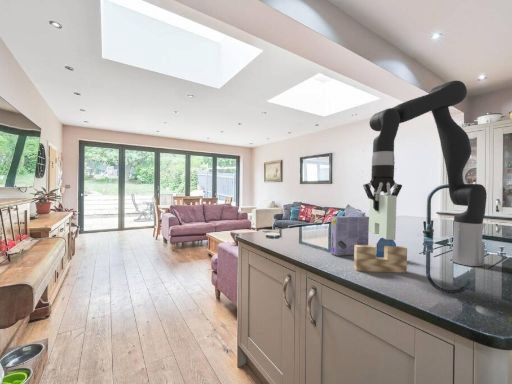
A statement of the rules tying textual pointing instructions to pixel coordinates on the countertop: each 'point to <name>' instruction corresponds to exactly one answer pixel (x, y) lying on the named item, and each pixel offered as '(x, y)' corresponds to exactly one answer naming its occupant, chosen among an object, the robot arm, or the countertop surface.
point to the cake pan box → (348, 234)
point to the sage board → (383, 217)
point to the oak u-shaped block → (380, 259)
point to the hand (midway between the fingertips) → (381, 210)
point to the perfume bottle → (381, 244)
